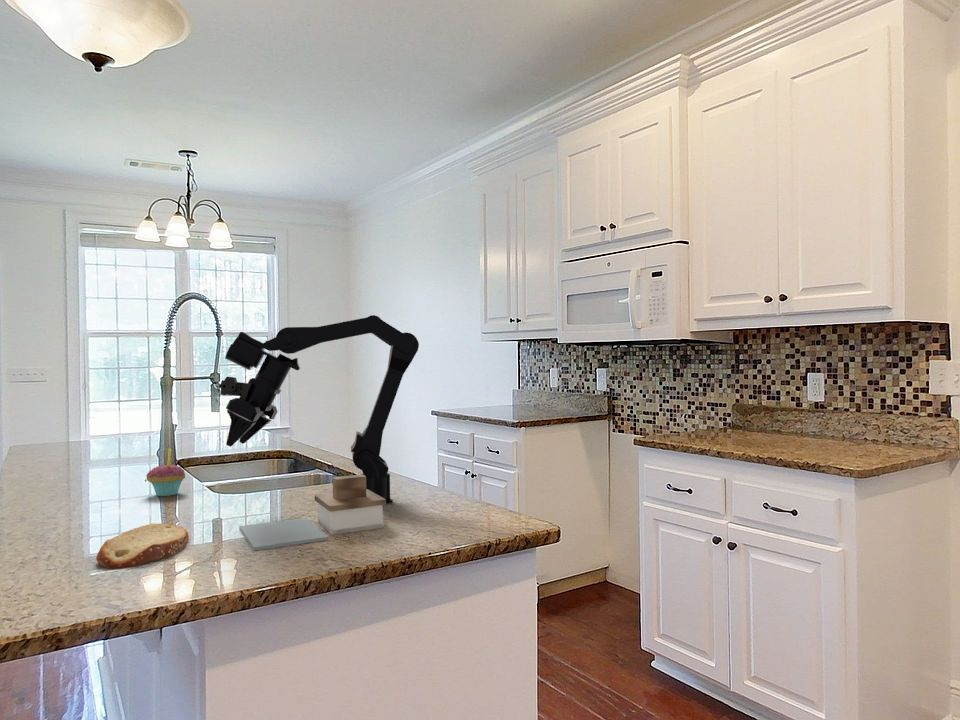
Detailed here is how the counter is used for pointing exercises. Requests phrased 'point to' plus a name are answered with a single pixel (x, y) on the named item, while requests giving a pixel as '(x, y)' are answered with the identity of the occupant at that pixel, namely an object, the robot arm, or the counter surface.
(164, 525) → the slice of bread
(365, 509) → the dish
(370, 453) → the robot arm
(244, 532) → the mat
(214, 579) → the counter surface
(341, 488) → the lid
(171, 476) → the cupcake
